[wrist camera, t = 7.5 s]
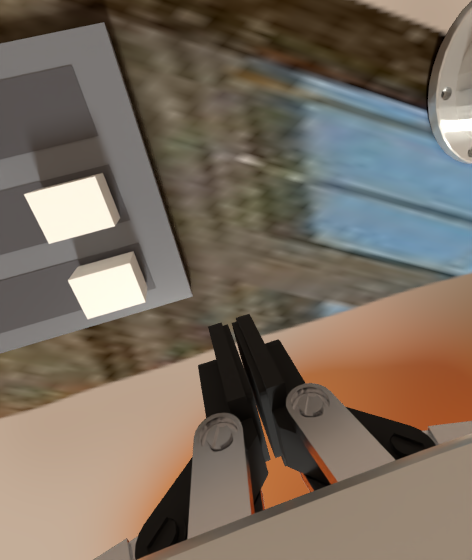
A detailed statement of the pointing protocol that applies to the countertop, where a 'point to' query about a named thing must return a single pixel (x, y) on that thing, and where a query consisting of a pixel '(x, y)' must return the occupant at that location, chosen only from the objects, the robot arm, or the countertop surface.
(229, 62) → the countertop surface
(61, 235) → the tab
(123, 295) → the tab
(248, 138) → the countertop surface
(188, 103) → the countertop surface
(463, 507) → the robot arm
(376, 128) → the countertop surface
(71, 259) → the switch panel
